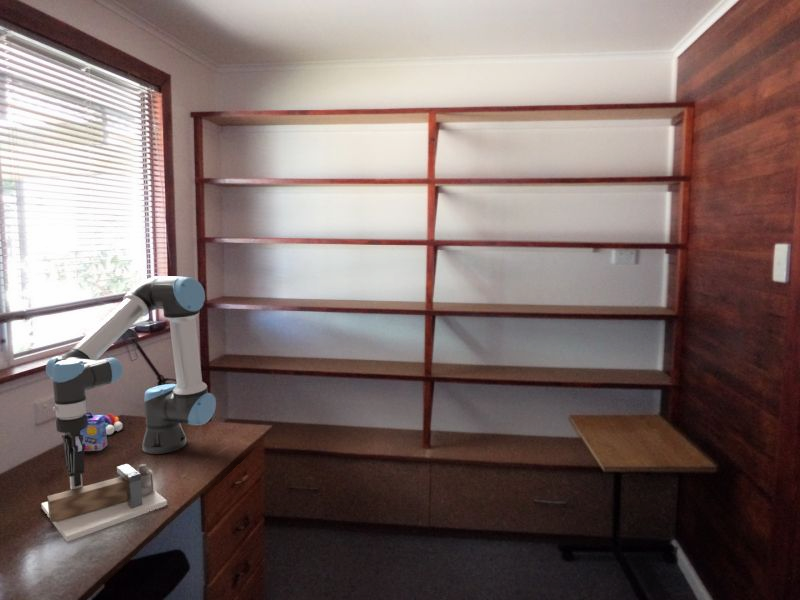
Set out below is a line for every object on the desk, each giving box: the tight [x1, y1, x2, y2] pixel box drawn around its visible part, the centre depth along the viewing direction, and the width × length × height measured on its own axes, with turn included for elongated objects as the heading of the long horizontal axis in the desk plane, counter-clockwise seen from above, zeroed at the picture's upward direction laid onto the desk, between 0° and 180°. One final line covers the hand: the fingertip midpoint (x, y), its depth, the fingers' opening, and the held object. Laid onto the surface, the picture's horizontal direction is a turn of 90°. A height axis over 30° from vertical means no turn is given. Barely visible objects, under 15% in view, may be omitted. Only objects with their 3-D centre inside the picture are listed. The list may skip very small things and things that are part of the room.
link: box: [46, 463, 155, 524], centre depth 154 cm, size 27×5×8 cm, turn 130°
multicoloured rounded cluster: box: [105, 413, 124, 436], centre depth 216 cm, size 8×10×7 cm
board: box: [40, 489, 168, 543], centre depth 157 cm, size 26×25×2 cm
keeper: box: [116, 463, 142, 509], centre depth 157 cm, size 3×10×11 cm, turn 46°
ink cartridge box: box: [80, 411, 108, 452], centre depth 199 cm, size 10×6×14 cm, turn 95°
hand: (77, 495), depth 152 cm, fingers closed
